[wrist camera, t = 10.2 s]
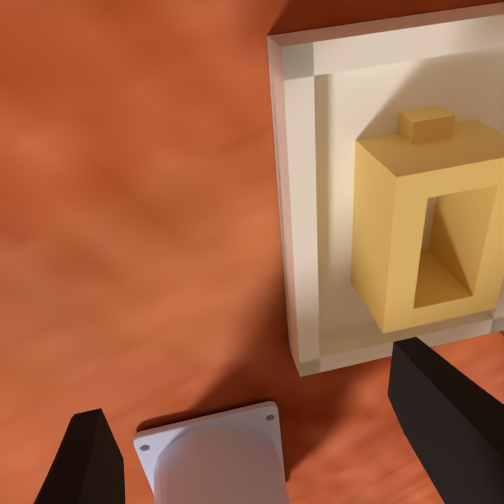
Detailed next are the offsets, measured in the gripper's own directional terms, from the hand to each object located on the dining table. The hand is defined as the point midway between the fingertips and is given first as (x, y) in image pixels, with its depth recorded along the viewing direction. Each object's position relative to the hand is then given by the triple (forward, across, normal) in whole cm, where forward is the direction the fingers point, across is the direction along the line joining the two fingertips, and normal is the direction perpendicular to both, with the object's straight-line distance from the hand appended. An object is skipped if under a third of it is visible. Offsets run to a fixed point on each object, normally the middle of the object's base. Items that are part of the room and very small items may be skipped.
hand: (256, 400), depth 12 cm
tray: (+9, -8, +1) cm, 13 cm away
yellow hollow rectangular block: (+9, -8, +1) cm, 12 cm away
